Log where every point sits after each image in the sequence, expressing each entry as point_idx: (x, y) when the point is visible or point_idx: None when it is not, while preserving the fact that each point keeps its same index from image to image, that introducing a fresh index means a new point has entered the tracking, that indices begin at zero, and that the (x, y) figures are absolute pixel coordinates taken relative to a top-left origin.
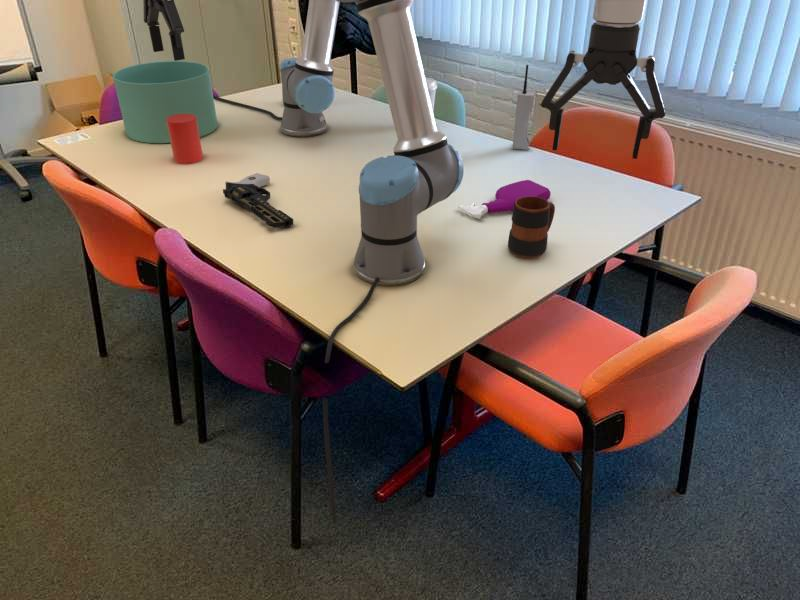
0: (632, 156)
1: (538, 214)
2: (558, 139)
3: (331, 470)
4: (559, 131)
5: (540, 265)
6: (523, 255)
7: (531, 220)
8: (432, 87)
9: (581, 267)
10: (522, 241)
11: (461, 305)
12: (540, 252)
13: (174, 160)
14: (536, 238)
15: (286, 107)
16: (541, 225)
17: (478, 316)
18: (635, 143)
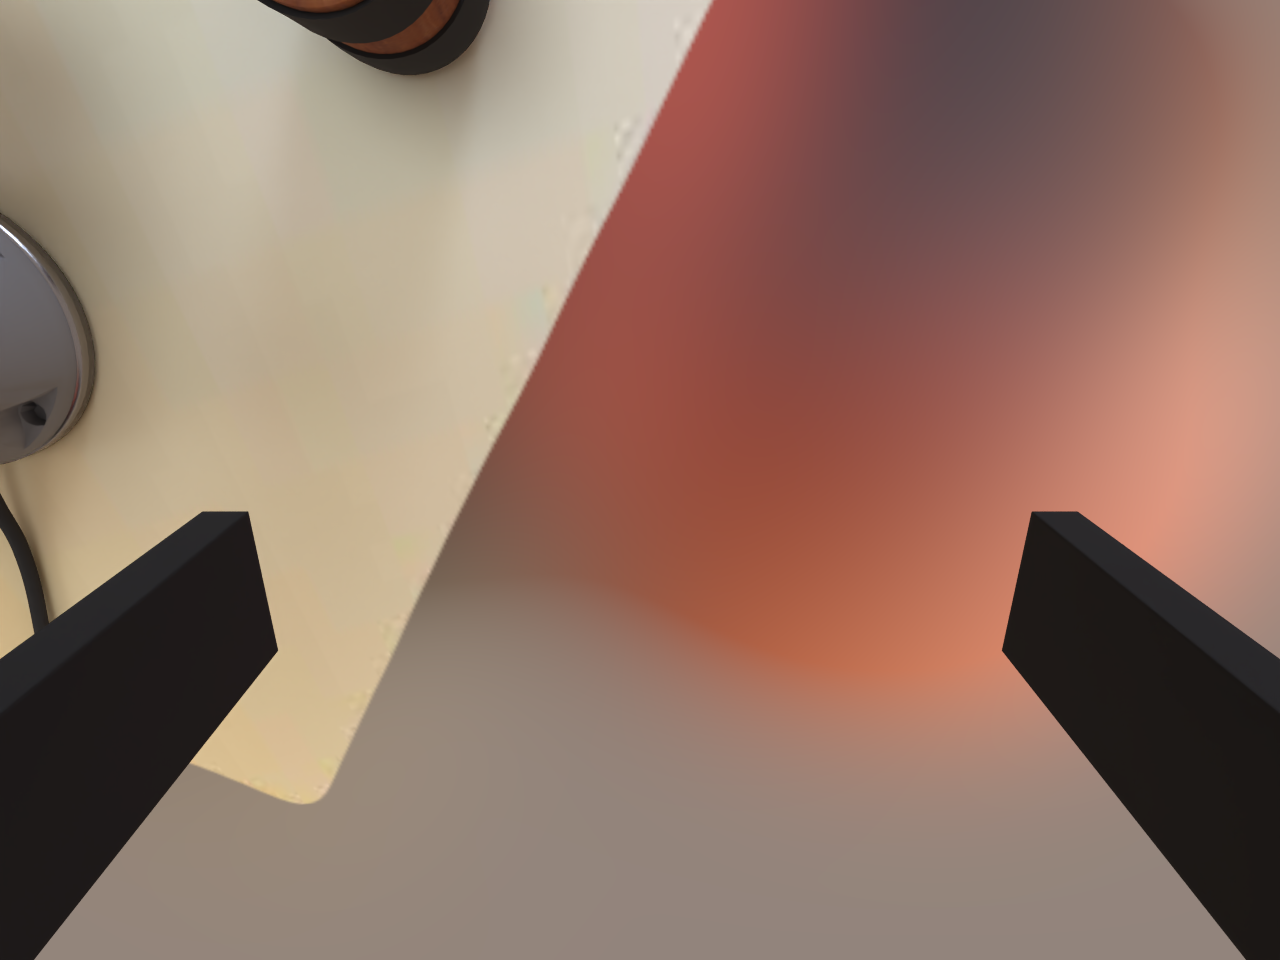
0: (1012, 609)
1: (377, 4)
2: (215, 667)
3: None
4: (158, 758)
5: (495, 102)
6: (405, 74)
7: (357, 27)
8: None
9: (666, 60)
10: (369, 58)
11: (309, 483)
12: (472, 36)
13: None
14: (427, 32)
15: None
16: (422, 4)
17: (381, 524)
18: (1088, 756)
